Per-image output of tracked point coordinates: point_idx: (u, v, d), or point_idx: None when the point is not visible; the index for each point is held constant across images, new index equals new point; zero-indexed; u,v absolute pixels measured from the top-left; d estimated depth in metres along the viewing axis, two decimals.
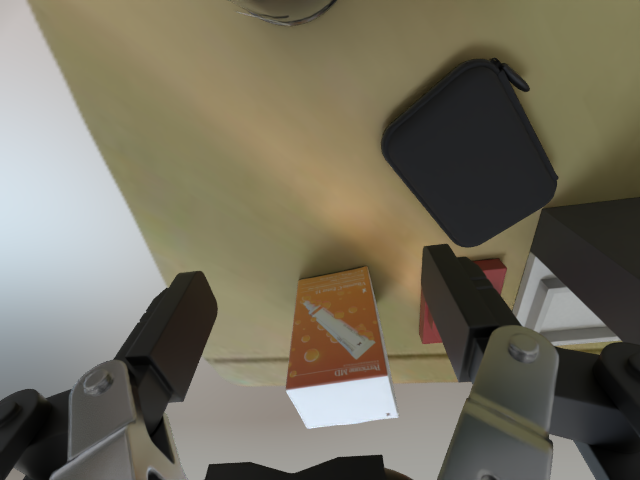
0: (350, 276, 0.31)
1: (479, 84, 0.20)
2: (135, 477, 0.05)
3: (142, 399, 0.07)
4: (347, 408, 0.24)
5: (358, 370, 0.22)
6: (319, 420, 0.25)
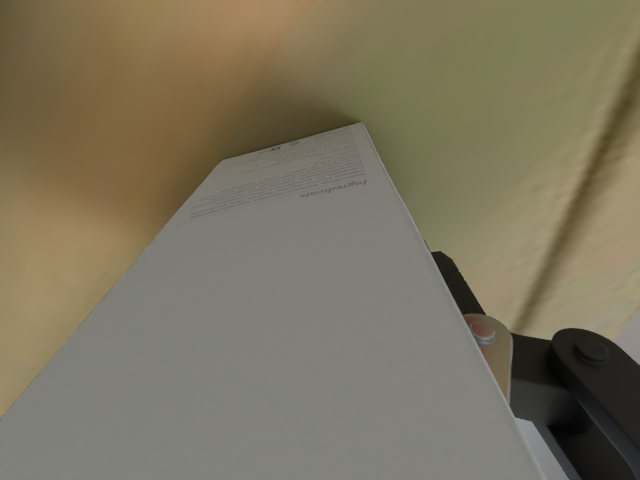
0: None
1: None
2: None
3: None
4: None
5: None
6: None
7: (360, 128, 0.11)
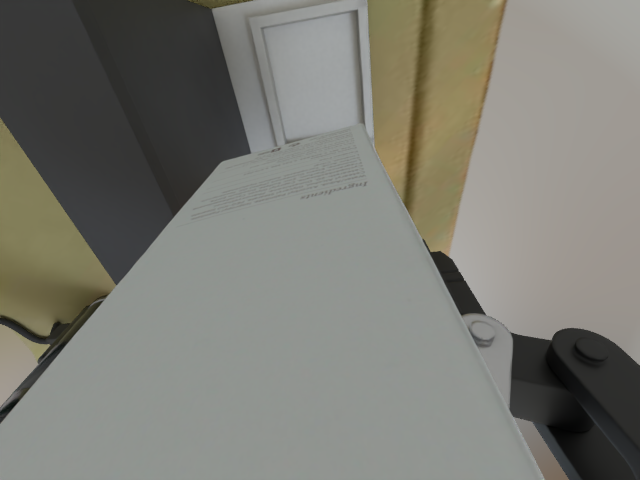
0: None
1: None
2: None
3: None
4: None
5: None
6: None
7: (360, 129, 0.11)
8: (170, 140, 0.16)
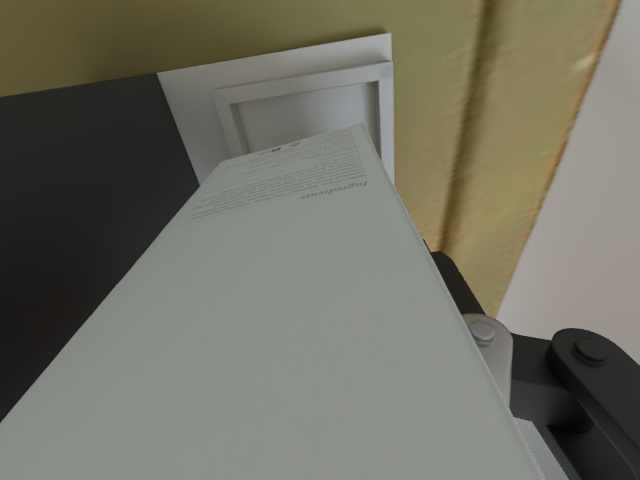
0: None
1: None
2: None
3: None
4: None
5: None
6: None
7: (360, 129, 0.11)
8: None
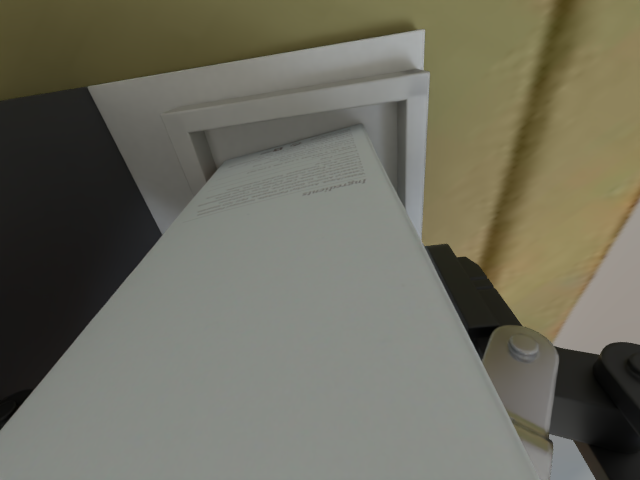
0: None
1: None
2: None
3: None
4: None
5: None
6: None
7: (360, 129, 0.11)
8: None
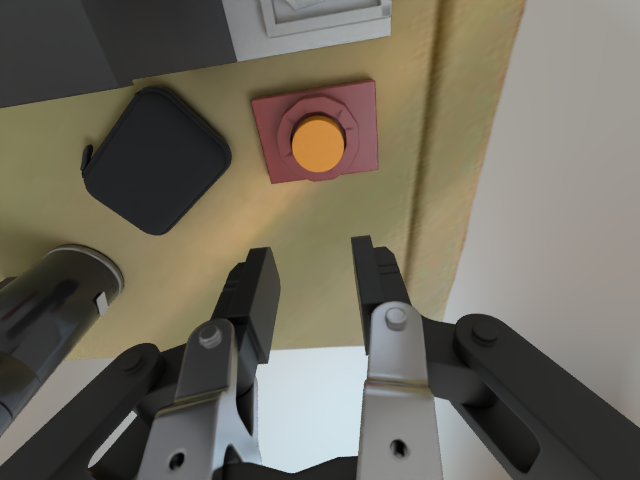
0: None
1: (92, 191, 0.30)
2: (213, 455, 0.05)
3: (244, 355, 0.08)
4: None
5: None
6: None
7: None
8: None
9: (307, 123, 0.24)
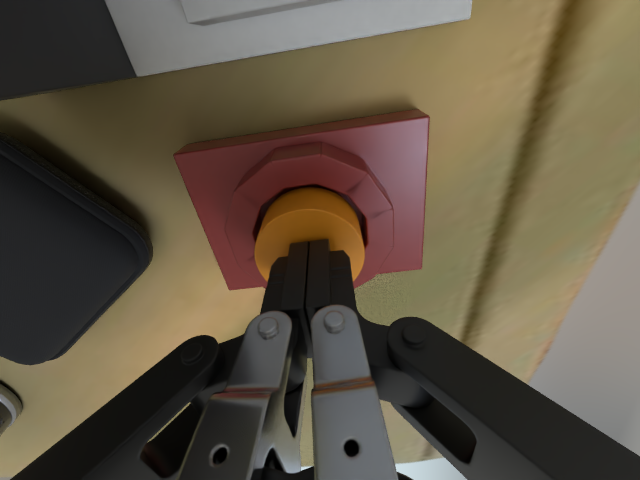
0: None
1: None
2: (254, 461, 0.05)
3: (299, 348, 0.08)
4: None
5: None
6: None
7: None
8: None
9: (285, 215, 0.11)
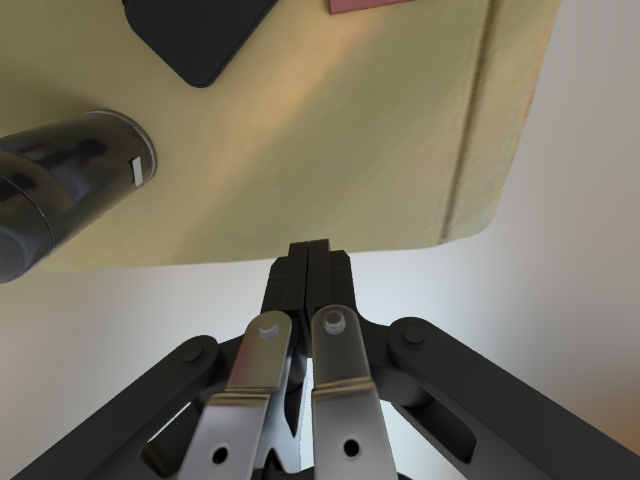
0: None
1: (134, 17, 0.27)
2: (254, 461, 0.05)
3: (299, 348, 0.08)
4: None
5: None
6: None
7: None
8: None
9: None
